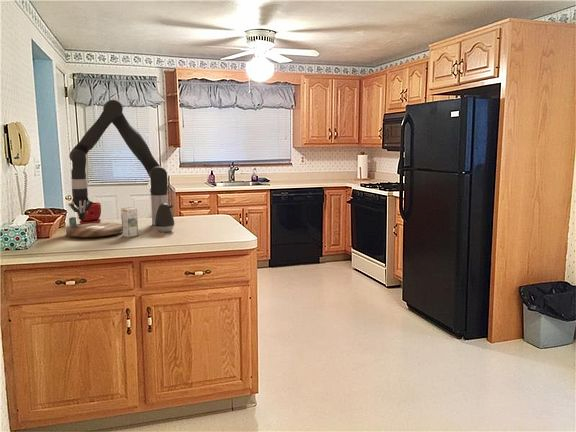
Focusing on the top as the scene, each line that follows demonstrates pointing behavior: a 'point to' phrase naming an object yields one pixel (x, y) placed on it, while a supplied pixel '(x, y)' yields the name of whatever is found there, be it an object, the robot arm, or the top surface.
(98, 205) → the plant pot
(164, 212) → the pump dispenser
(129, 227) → the syrup box
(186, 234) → the top surface
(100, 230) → the disc
